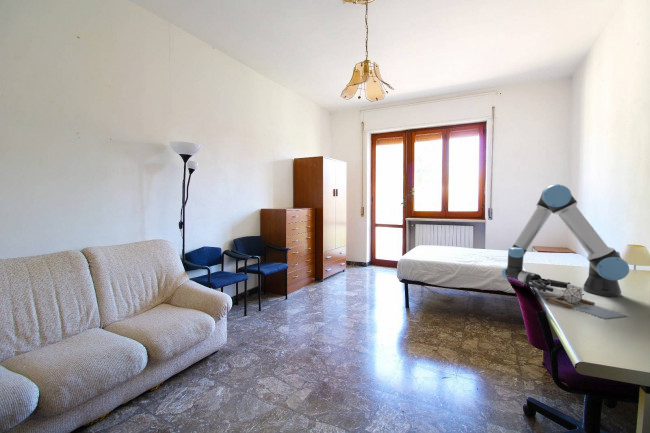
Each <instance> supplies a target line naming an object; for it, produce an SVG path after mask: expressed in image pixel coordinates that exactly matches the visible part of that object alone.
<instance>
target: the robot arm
mask: <svg viewBox="0 0 650 433" xmlns="http://www.w3.org/2000/svg"><path fill="white" fill-rule="evenodd" d="M539 197H540V198H539V200H538V201H537V203H536V208H535V210H534V212H533V213H532V215H531V216H530V218H529V219H528V222H526V224H525V226H524V228H523V229H522V231H521V232H520V234H519V236H518V237H517V238H516V240H515V242H514V243H513V245H512V246H511V247H510V246H509V248H508V251H507V266H505V267H504V268H503V269H502V271H501V275H502V277H503V278H504V279H506V280H508V279H507V278H508V277H511V278H515V279H517V280H518V281H520V282H521V283H523V284H522V285H524V284H526V286H527V285H528V287H530V288H533V289H536V290H538V291H542V292H543V293H546V292H549V293H552V294H555V295H559V296H562V293H563V291H562V290H563V289H567V288H573V286H574V288H575V289H577V290H579V289H580V290H579V291H580V292H581V293H582V294H583V291H585V292H587V293H590V294H594V295H598V296H604V297H613V298H614V297H615V298H619V297H622V290H621V287H620V284H619V280H620V281H621V280H623V279H625V278H626V277H627V276H628V275H629V273H630V266H629V263H628V262H627V261H626V260H624V259H623V258H622V257H621V253H620V252H619V251H617V250H616V249H615V248H614V247H609V246H607V244H606V243H605V241H604V240H603V238H601V236H600V235H599V233H598V232H597V231H596V230H595V229H594V227H593V226H592V224H591V223H590V222H589V221H588V220H587V218H586V217H585V216H584V214H583V213H582V212H581V210H579V208H578V207H577V204H578V201H577V200H576V198H575V197H574V196H573V195H572V192H571V190H570V189H569V188H568V187H567V186H565V185H564V184H557V183H556V184H552V185H551V184H550V185H549V186H547V187H546V188H545V189H543V190H542V192H541V195H540V196H539ZM552 214H553V215H558V216H559V218H560V219H561V220H562V222H563V223H564V225H565V226H566V227H567V228H568V229H569V231H570V232H571V233H572V235H573V236H574V237H575V239H576V240H577V241H578V243H579V245H581V247H582V248H583V250H584V251H585V252H586V253H587V258H586V260H587V261H588V262H589V265H588V266H589V267H588V276H587V278H586V281H585V282H584V283H583V286H578V285H574V284H571V283H570V281H568V282H566V281H559V280H553V279H550V278H542V276H541V275H540V274H538V273H534V272H530V271H526V270H523V267H524V256H525V255H526V253H527V252H528V250H529V248H530V247H531V245H532V244H533V242H534V241H535V239H536V238H537V236H538V234H539V233H540V231H541V230H542V228H543V227H544V225H545V224H546V222H547V221H548V219H549V218H550V216H551V215H552ZM507 275H508V276H507ZM566 287H567V288H566ZM561 288H562V289H561Z"/></svg>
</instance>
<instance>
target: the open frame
mask: <svg viewBox="0 0 650 433" xmlns="http://www.w3.org/2000/svg"><path fill="white" fill-rule="evenodd" d="M561 296H562V295H559V296H552V297H550V296H546V297H545V301H547V302H550V303H553V304H556V305H559V306H561V307H565V308H567V309H574V304H573V303H572V304H571V303H570V302H567V301H566V302H565V299H564V297H561ZM582 300H584V301H582ZM582 300H581V301H580V302H579V304H580V303H581V304H584V305H588V306H595V302H594V301H591V300H587V299H585V298H582Z"/></svg>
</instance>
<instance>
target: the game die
mask: <svg viewBox="0 0 650 433" xmlns="http://www.w3.org/2000/svg"><path fill="white" fill-rule="evenodd" d="M566 288H567V287H566ZM566 288H564V290H563V289H562V295H560V296H561V297H564V299H565V300H564V302H566V303H569V304H572V305H573V304H577V305H579V304H580V301H581V300H582V299H583V296H584V295H585V293H583V292H582V293H581V292H580V291H579V290H580V289H579V290H577V289H575V288H574V286H573V288H567V289H566ZM582 301H584V300H582Z"/></svg>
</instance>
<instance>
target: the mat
mask: <svg viewBox="0 0 650 433" xmlns="http://www.w3.org/2000/svg"><path fill="white" fill-rule="evenodd" d="M575 309H576V311H578V310H579V311H578V312H581V311H582V312H581V313H584V312H585V313H584V314H587V313H588V314H587V315H590V314H591V316H593V315H594V316H593V317H596V316H598V317H597V318H599V317H600V318H599V319H602V318H603V320H609V319H618V318H625V317H628V315H627V314H625V313H620V312H618V311H614V310H612V309H611V310H610V309H607V308H604V307H600V306H598V305H594V306H590V305H588V306H581V307H578V306H577V307H573V310H575Z"/></svg>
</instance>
